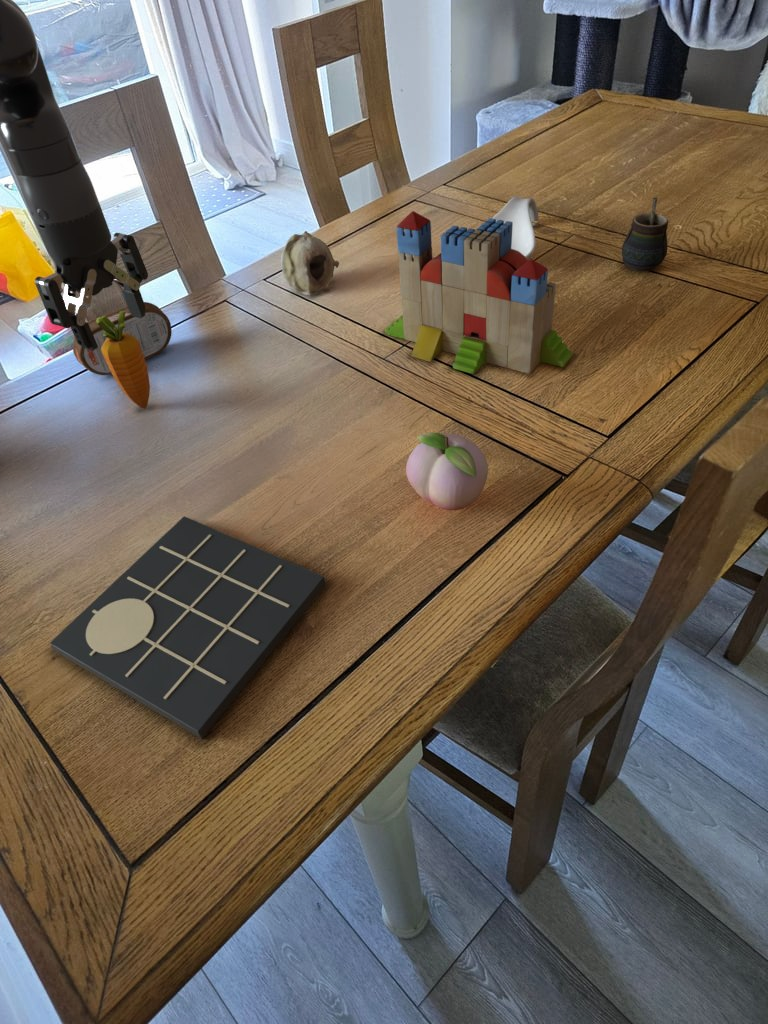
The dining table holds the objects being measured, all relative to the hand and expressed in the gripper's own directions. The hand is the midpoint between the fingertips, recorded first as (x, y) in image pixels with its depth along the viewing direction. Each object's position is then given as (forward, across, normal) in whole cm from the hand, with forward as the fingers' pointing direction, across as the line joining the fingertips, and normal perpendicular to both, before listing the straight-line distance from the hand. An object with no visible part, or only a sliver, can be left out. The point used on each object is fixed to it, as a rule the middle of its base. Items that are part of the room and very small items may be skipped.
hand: (115, 331), depth 91 cm
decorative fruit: (+13, -2, +48) cm, 50 cm away
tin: (+12, -8, -11) cm, 18 cm away
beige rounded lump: (+13, -40, +2) cm, 42 cm away
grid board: (+12, +25, +32) cm, 42 cm away
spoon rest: (+13, -65, +28) cm, 72 cm away
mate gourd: (+13, -68, +51) cm, 86 cm away
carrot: (+12, 0, 0) cm, 13 cm away
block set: (+13, -34, +36) cm, 51 cm away
